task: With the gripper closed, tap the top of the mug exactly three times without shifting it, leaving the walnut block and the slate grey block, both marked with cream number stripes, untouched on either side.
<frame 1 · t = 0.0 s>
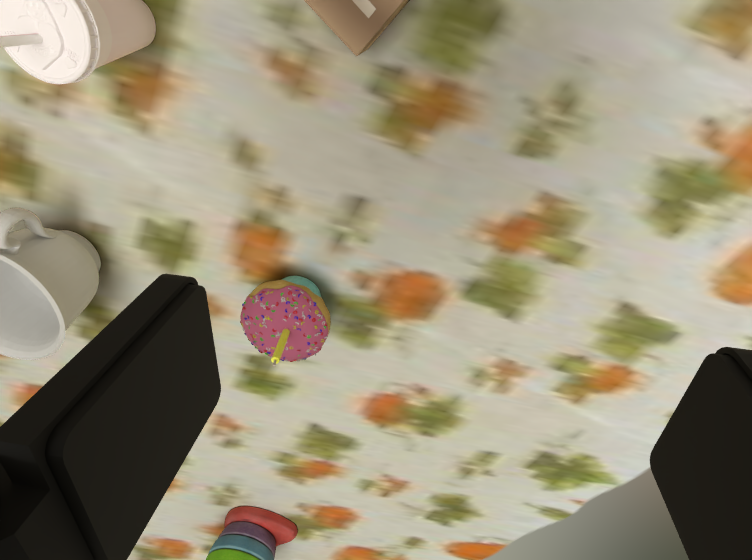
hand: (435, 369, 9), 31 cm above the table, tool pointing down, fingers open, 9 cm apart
smoothie: (134, 21, 36), on the table
stacking bear: (257, 523, 71), on the table
teacup: (76, 242, 48), on the table
cupcake: (299, 295, 47), on the table
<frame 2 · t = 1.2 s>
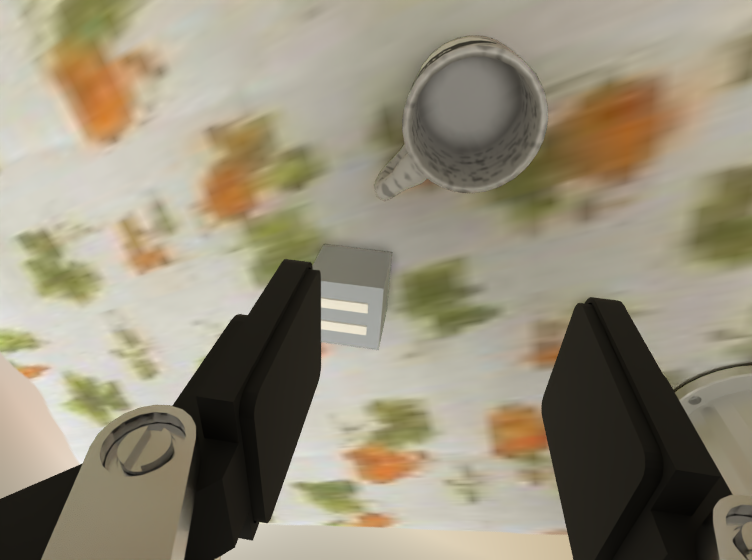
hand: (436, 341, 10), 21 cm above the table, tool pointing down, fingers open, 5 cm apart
slate number block: (356, 277, 35), on the table
mug: (445, 117, 28), on the table
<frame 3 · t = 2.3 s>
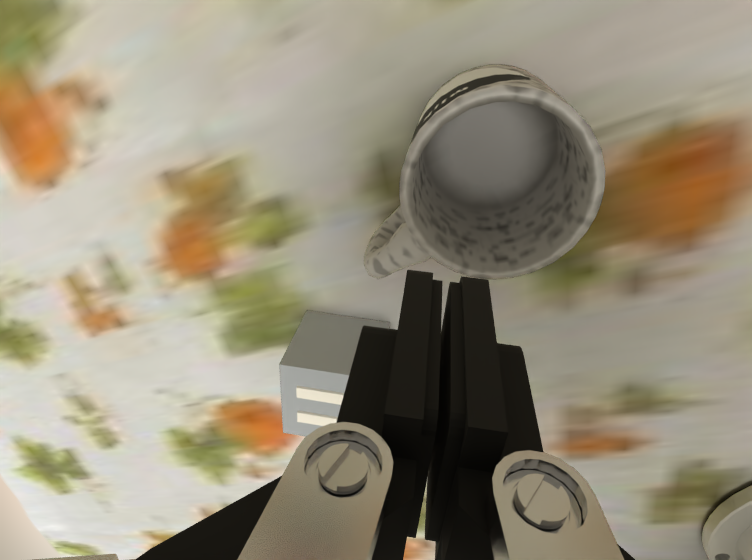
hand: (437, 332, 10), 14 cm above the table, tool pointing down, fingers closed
slate number block: (346, 348, 29), on the table
mug: (458, 165, 22), on the table
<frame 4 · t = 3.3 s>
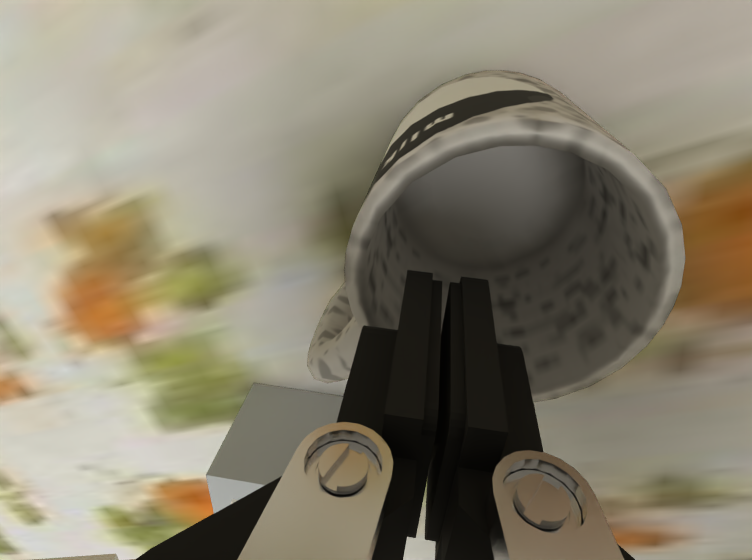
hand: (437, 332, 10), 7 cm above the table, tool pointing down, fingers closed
slate number block: (307, 426, 23), on the table
mug: (444, 209, 16), on the table
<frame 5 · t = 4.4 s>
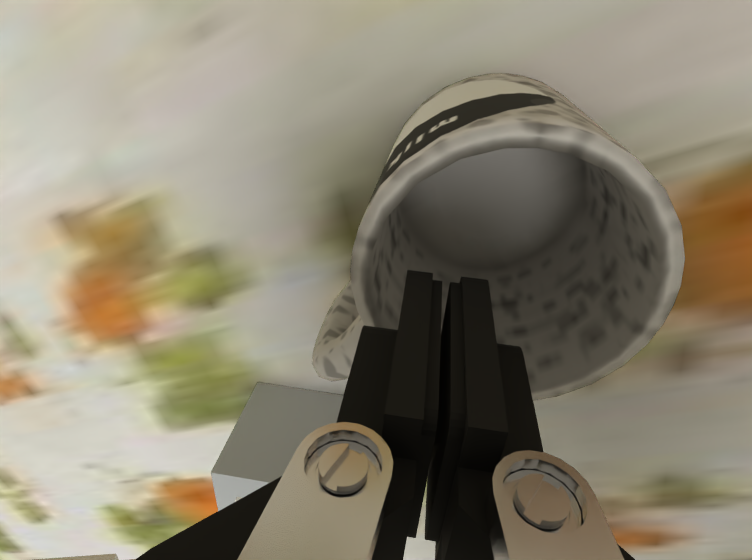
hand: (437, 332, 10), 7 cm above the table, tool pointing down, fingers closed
slate number block: (310, 425, 23), on the table
mug: (447, 209, 16), on the table
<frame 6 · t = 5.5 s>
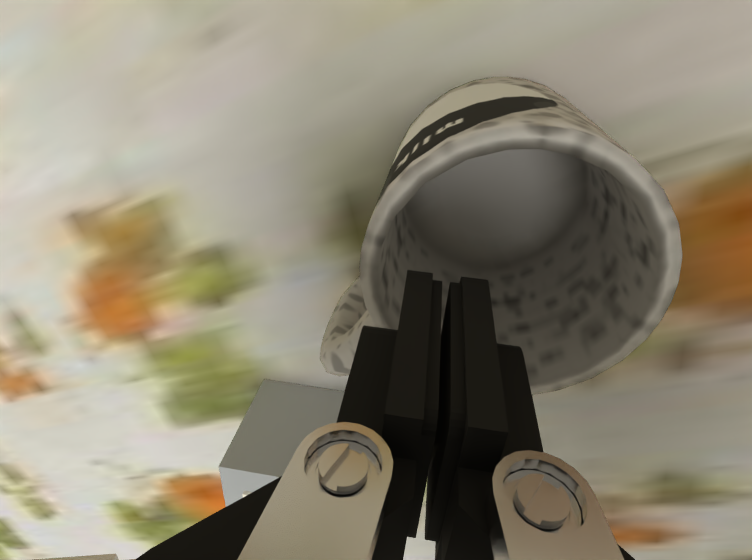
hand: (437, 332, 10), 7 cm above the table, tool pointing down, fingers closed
slate number block: (315, 422, 23), on the table
mug: (451, 209, 17), on the table
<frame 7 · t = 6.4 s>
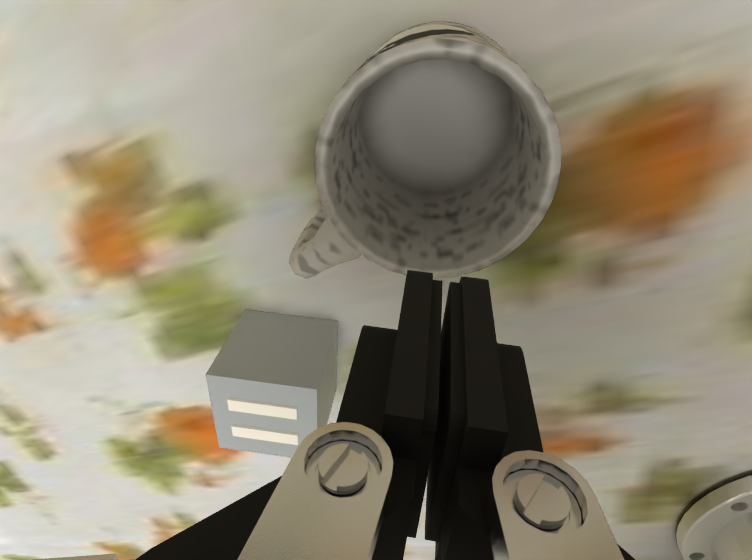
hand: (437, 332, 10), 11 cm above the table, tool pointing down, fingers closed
slate number block: (293, 350, 26), on the table
mug: (403, 144, 19), on the table
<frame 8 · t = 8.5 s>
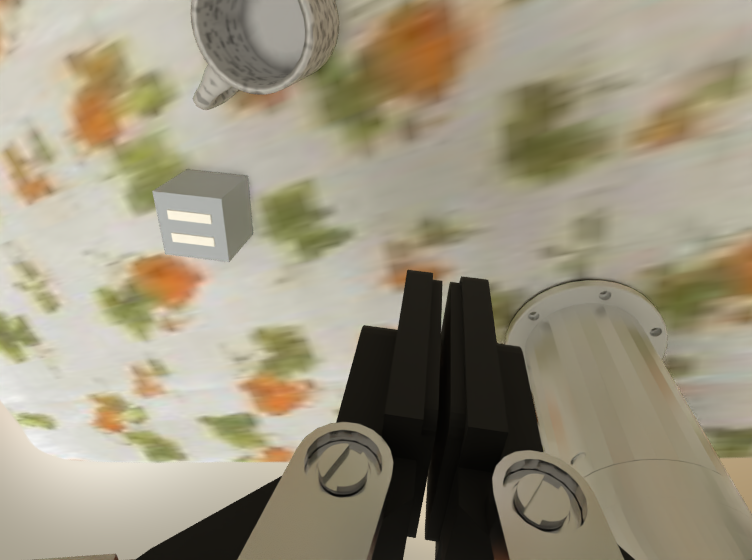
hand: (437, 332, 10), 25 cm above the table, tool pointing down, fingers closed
slate number block: (221, 202, 38), on the table
mug: (273, 41, 31), on the table
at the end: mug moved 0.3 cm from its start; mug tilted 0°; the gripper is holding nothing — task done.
